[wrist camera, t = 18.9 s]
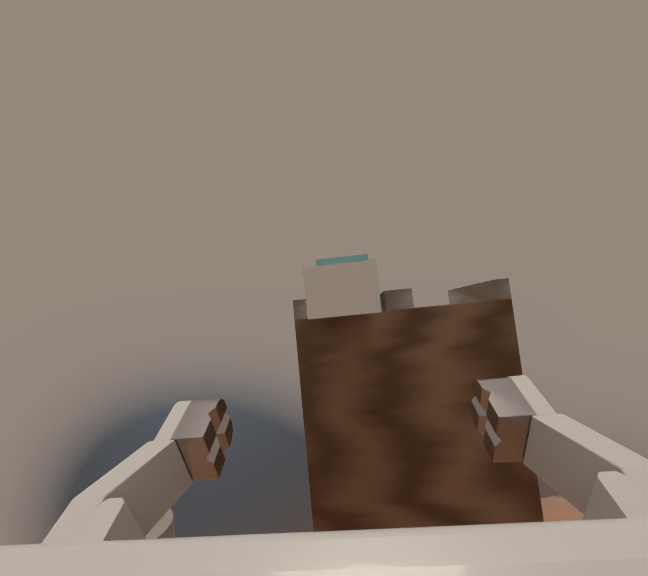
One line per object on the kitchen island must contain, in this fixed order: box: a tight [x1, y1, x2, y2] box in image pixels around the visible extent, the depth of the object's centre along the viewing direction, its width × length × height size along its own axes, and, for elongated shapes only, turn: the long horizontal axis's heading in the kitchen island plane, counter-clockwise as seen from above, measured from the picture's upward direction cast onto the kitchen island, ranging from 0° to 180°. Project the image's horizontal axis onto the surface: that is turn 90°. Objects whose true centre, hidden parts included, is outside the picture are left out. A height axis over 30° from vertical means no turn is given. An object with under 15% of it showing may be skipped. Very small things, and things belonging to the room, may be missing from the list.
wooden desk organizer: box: [293, 278, 544, 532], centre depth 30 cm, size 16×12×31 cm
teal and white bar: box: [303, 254, 382, 319], centre depth 26 cm, size 4×20×4 cm, turn 175°
